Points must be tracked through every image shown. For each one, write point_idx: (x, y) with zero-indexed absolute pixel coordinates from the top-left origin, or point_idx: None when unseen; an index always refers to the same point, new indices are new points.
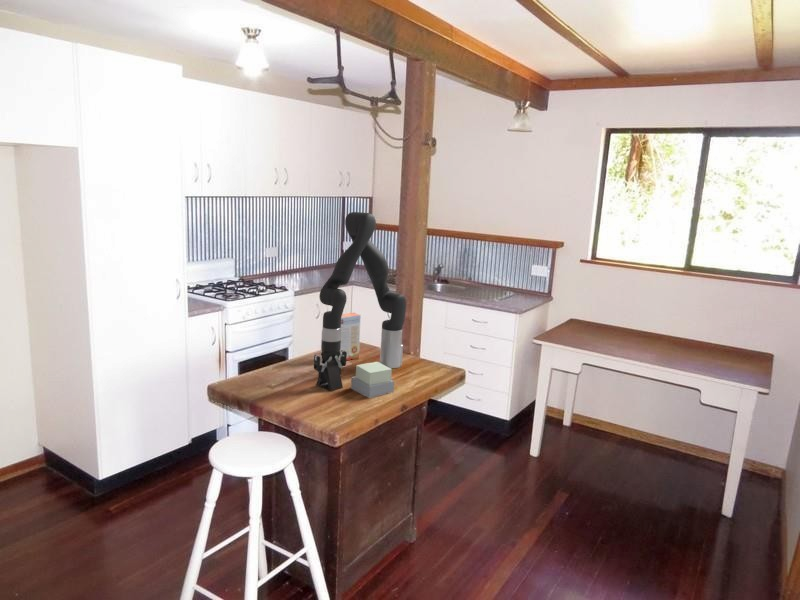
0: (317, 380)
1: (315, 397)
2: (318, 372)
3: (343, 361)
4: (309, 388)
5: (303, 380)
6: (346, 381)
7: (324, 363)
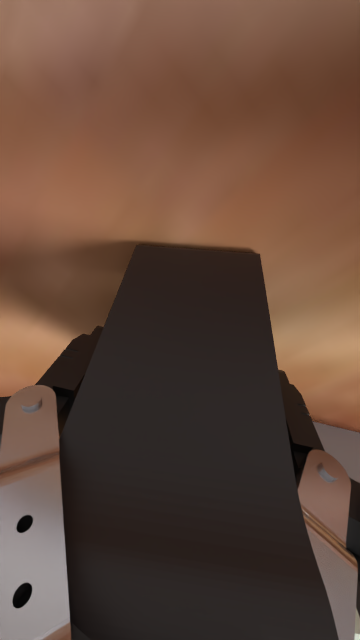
0: (126, 272)
1: (31, 360)
2: (41, 378)
3: (358, 598)
4: (63, 252)
5: (126, 12)
6: (351, 342)
7: (66, 515)
